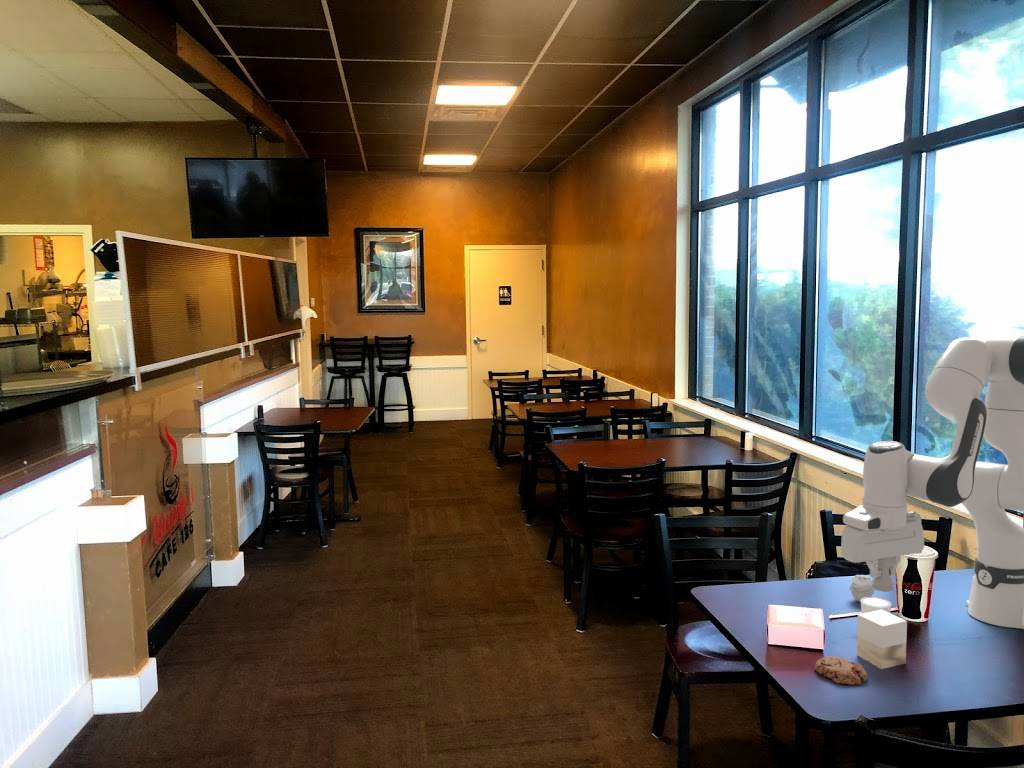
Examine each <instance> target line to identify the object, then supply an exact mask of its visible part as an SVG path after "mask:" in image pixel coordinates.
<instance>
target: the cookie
mask: <svg viewBox="0 0 1024 768" xmlns="http://www.w3.org/2000/svg"><path fill="white" fill-rule="evenodd" d="M815 670H816V671H815ZM814 671H815V672H816V673H818V674H819V675H821V676H823V678H824V677H825V678H828V679H831V681H832V682H835V683H836V684H845V685H849V686H850V685H851V686H853V685H854V686H855V685H856V686H857V685H859V686H861V685H862V683H865V682H866V681H867V679H868V673H867V671H866V670H865V669H864V667H863V665H862V664H860V663H857V662H855V661H850V660H849V659H847V658H843V657H839V656H823V657H821V658H820V659H818V660H817V661H816V662H815V665H814ZM861 682H862V683H861ZM860 684H861V685H860Z"/></svg>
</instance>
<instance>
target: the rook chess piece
mask: <svg viewBox="0 0 1024 768" xmlns="http://www.w3.org/2000/svg"><path fill="white" fill-rule="evenodd" d="M890 560H891V558H890V557H889V558H883V559H878V563H877V564H876V566H877V569H879V570H881V577H880V578H872V580H871V581H872V583H873V584H872V587H873V588H874V589H875V591H878V592H883V593H889V592H892V591H894V582H893V580H892V577H891V576H890V574H889V566H890V564H889V562H890Z"/></svg>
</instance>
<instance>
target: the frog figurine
mask: <svg viewBox="0 0 1024 768" xmlns="http://www.w3.org/2000/svg"><path fill="white" fill-rule="evenodd" d="M852 579H853V580H852V581H851V584H850V585H849V590H850V592H851V595H852V597H853V599H854V600H855V601H857V602H859V603H861V599H862V598H865V597H873V595H874V594H875V591H876V590H875V589H874V588H873V587H872V584H873V583H872V580H871V576H870V575H869V576H868V575H867V576H866V575H864V574H855V576H854V578H852Z"/></svg>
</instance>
